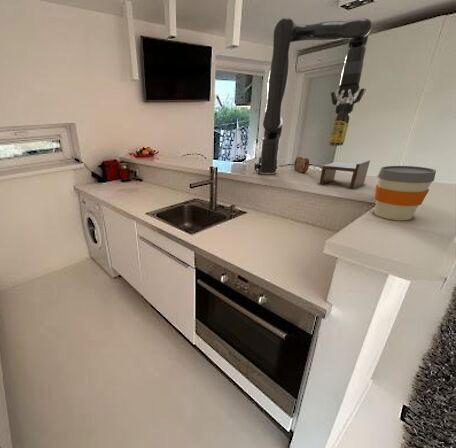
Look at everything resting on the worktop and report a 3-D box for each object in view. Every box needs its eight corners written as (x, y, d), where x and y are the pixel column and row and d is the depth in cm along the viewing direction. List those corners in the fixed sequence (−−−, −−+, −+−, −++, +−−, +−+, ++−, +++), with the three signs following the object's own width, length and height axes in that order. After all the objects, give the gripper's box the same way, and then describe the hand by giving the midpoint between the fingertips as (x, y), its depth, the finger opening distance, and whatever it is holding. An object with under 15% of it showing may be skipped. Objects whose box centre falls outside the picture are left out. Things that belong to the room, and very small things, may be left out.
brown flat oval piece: (293, 169, 156) (295, 155, 153) (298, 168, 156) (300, 155, 152) (302, 173, 142) (305, 159, 139) (308, 173, 142) (311, 158, 139)
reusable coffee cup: (357, 210, 86) (369, 167, 80) (392, 207, 86) (405, 164, 81) (392, 224, 74) (408, 174, 68) (431, 220, 75) (451, 171, 69)
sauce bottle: (326, 145, 128) (333, 104, 121) (333, 144, 131) (341, 103, 123) (339, 146, 123) (347, 102, 116) (346, 145, 125) (355, 102, 118)
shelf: (319, 184, 120) (323, 161, 116) (330, 179, 126) (335, 158, 122) (353, 189, 109) (359, 164, 105) (363, 184, 115) (370, 160, 111)
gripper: (373, 70, 111) (363, 112, 117) (337, 76, 122) (330, 114, 128) (367, 69, 107) (357, 112, 114) (330, 76, 118) (323, 114, 124)
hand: (343, 113), depth 121 cm, fingers closed on sauce bottle, 4 cm apart
